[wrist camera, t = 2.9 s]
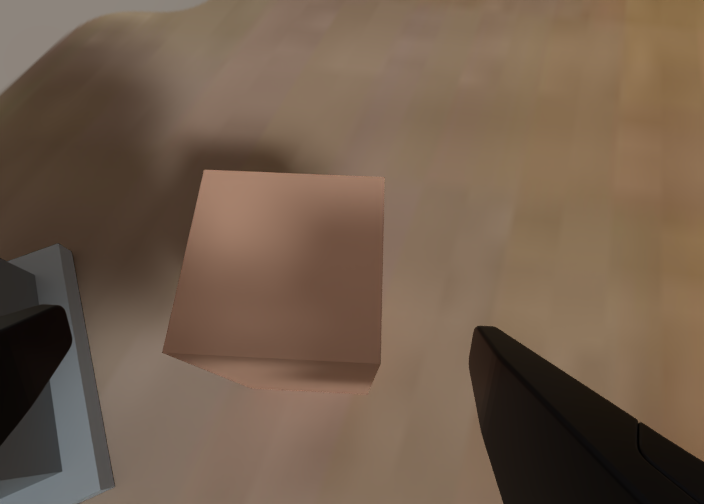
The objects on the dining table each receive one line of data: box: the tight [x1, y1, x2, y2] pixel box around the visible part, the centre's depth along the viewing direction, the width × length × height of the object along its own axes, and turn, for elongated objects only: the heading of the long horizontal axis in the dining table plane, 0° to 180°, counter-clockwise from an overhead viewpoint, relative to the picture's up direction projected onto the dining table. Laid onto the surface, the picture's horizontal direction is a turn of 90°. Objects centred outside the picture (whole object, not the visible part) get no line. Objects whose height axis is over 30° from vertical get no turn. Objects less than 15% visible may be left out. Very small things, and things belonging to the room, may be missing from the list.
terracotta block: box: [162, 170, 385, 394], centre depth 15 cm, size 5×5×9 cm
